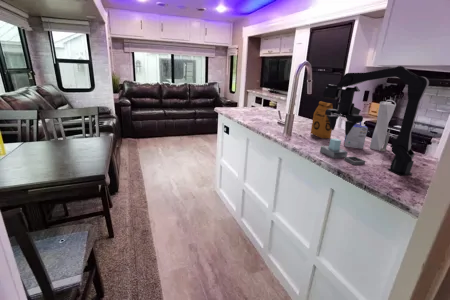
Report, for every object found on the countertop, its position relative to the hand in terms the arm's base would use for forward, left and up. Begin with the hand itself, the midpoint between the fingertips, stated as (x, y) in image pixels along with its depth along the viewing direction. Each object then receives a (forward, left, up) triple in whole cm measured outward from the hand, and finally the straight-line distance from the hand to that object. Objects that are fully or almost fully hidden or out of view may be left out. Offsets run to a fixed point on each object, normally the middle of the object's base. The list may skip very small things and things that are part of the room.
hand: (339, 132), depth 116 cm
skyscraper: (+3, -32, -12) cm, 35 cm away
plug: (0, +1, -12) cm, 12 cm away
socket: (0, +1, -12) cm, 12 cm away
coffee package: (+31, -16, -12) cm, 37 cm away
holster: (-11, -2, -12) cm, 16 cm away
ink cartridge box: (+9, -21, -12) cm, 26 cm away
